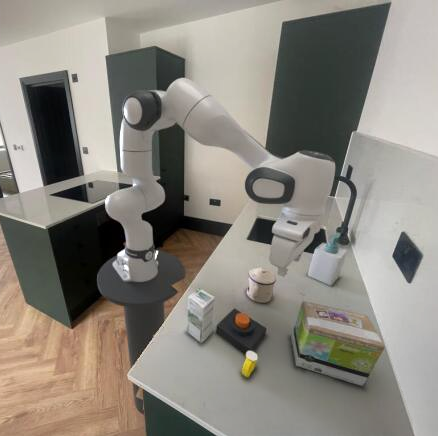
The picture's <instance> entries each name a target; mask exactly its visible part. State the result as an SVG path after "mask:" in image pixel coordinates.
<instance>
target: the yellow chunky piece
mask: <svg viewBox="0 0 438 436" xmlns="http://www.w3.org/2000/svg"><path fill="white" fill-rule="evenodd" d="M258 357H259V355H258V354H257V352H255V351H254V350H253V351H247V353H246V355H245V358H246V359H245V361H244V363H243V366H242V368H241V374H242V375H243V376H244V377H245V378H249V377H250V375H251V373H252V372H253V371H254V370H255V367H256V364H257V363H258Z"/></svg>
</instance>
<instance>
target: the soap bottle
mask: <svg viewBox="0 0 438 436" xmlns="http://www.w3.org/2000/svg"><path fill="white" fill-rule="evenodd" d="M340 236H341V232H336V233H334V234H333V235H332V236H331V241H330V242H328V243H326V242H322V243H321V244H319V245H318V246H316V248H315V249H314V251H313V255H312V258H311V262H310V265H309V270H308V272H307V277H310V278H313V279H315V280H317V281H319V282H322V283H323V284H326V285H328V286H330V287H331V286H332V285H333V284H334V283H335V282H336V281H337V279H338V278H339V277H340V274H341V272H342V269H343V265H344V262H345V260H346V257H347V254H348V250H347V249H344V248H341V247H338V243H337V242H338V240H339V238H340Z"/></svg>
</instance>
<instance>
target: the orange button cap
mask: <svg viewBox="0 0 438 436" xmlns="http://www.w3.org/2000/svg"><path fill="white" fill-rule="evenodd" d="M248 316H249V315H247V314H246V313H243V312H241V313H238V314H237V315H236V318H235V324H236V325H237V326H238V327H240V328H243V329H245V328H248V326H249V322H250V318H251V317H250V316H249V317H250V318H249V317H248Z"/></svg>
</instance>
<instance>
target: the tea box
mask: <svg viewBox="0 0 438 436" xmlns="http://www.w3.org/2000/svg"><path fill="white" fill-rule="evenodd" d="M291 332H292V333H291V335H290V338H291V343H292V344H291V345H292V350H293V356H294V362H295V366H296V367H299V368H303V369H306V370H309V371H312V372H316V373H319V374H321V375H322V374H323V375H325V376H329V377H331V378H334V379H338V380H342V381H344V382H348V383H351V384H354V385H357V386H360V387H363V386H364V385H365V383H366V381H367V380H368V379H369V377H370V375H371V373H372V371H373V369H374V368H375V365H376V364H377V363H378V360H379V359H380V357H381V355H382V354H383V352H384V350H385V348H386V347H385V344H384V343H383V341H382V339H381V337H380V335H379V334H378V332H377V330H376V328H375V327H374V325H373V323H372V321H371V319H370V316H369V315H367V314H364V313H358V312H354V311H351V310H345V309H340V308H336V307H333V306H332V307H331V306H327V305H323V304H318V303H313V302H309V301H304V300H303V301H302V302H301V305H300V307H299V311H298V314H297V317H296V319H295V323H294V327H293V329H292V331H291Z"/></svg>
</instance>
